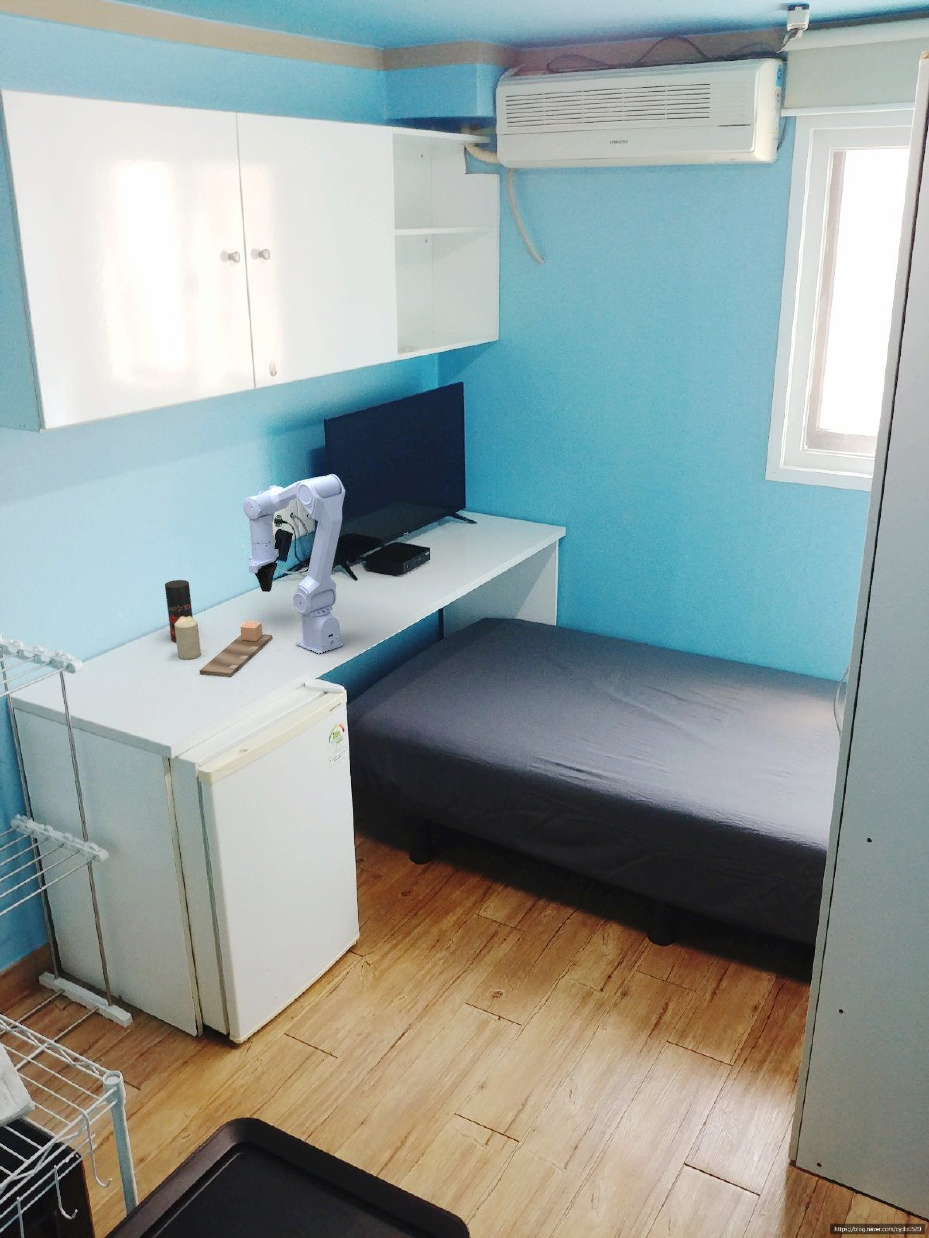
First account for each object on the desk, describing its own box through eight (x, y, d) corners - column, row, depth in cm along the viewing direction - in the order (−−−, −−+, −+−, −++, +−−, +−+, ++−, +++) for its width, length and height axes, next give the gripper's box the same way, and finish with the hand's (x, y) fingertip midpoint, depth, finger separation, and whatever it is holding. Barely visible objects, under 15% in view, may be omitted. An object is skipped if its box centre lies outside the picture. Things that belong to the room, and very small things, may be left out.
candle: (173, 656, 266) (169, 619, 262) (190, 649, 270) (186, 612, 266) (189, 661, 263) (184, 623, 259) (205, 654, 267) (201, 616, 263)
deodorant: (167, 638, 277) (160, 583, 272) (188, 632, 281) (182, 578, 275) (177, 644, 273) (171, 589, 268) (198, 639, 276) (193, 583, 271)
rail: (243, 636, 278) (243, 632, 278) (272, 638, 276) (272, 634, 276) (199, 674, 255) (199, 670, 255) (231, 677, 253) (230, 672, 253)
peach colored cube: (248, 634, 276) (246, 621, 274) (262, 635, 275) (261, 622, 274) (241, 639, 272) (240, 627, 271) (256, 641, 271) (255, 628, 270)
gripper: (259, 532, 283) (263, 581, 288) (236, 548, 270) (240, 599, 275) (284, 533, 281) (288, 582, 286) (262, 549, 268) (266, 600, 273)
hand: (266, 590), depth 280 cm, fingers closed
